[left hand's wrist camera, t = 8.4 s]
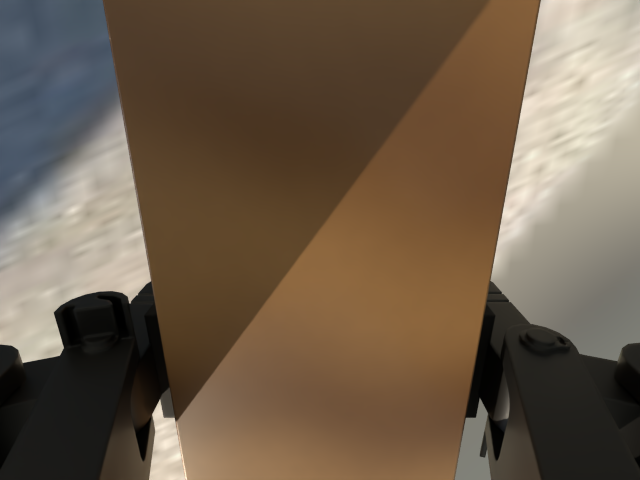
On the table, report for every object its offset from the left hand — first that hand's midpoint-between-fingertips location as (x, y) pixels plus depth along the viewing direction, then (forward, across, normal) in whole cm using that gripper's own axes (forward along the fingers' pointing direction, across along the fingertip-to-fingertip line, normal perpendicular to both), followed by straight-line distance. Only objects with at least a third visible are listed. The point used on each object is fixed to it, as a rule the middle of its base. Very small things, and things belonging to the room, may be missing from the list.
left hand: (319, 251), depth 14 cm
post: (+1, 0, -36) cm, 36 cm away
